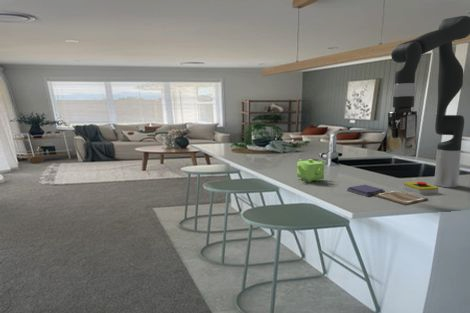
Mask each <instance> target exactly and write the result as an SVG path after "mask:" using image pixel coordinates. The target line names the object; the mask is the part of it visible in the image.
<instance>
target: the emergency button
mask: <svg viewBox="0 0 470 313" xmlns="http://www.w3.org/2000/svg"><path fill="white" fill-rule="evenodd" d="M400 189H403V190H405V191H409V192H411V193H414V194H416V193H417V195H419V194H420V196H422V197H424V196H426V195H427V196H438V195H439V196H440V195H441V193H439V186H437V185H432V184H429V183H427V182H425V181H413V182H411V181H409V182H403V184H402V186H400Z"/></svg>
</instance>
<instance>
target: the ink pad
mask: <svg viewBox="0 0 470 313" xmlns="http://www.w3.org/2000/svg"><path fill="white" fill-rule="evenodd" d="M346 191H348V192H351V193H354V194H357V195H360V196H363V197H373V196H375V195H376V194H380V193H386V190H384V188H379V187H376V186H373V185H368V184H360V185H354V186H349V187H348V188H347V189H346Z"/></svg>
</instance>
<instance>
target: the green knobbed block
mask: <svg viewBox="0 0 470 313" xmlns="http://www.w3.org/2000/svg"><path fill="white" fill-rule="evenodd" d="M298 160H299V161H298ZM298 160H297V165H296V168H297V170H296V176H297V178H300V181H305V180H306V183H312V181H315V182H320V181H321V180H324V179H325V163H324V162H326V159H325V160H321V161H316V160H314V159H312V158H309V159H307V160H303V159H301V158H299V159H298Z"/></svg>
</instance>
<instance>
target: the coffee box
mask: <svg viewBox="0 0 470 313" xmlns="http://www.w3.org/2000/svg"><path fill="white" fill-rule="evenodd" d="M395 120H396V121H398V120H401V122H400V123H399V128H398V129H399V132H398V138H393V137H392V128H391V127H388V125H387V127H386V128H387V130H386V146H385V148H386V150H385V151H386V152H385V153H386V154H388V155H396V156H405V157H407V156H415V155H416V140H417V128H418V126H417V125H418V114H417V115H400V116H399V117H398V116H397V115H396V117H395ZM391 124H392V121H391ZM396 124H397V123H396Z"/></svg>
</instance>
